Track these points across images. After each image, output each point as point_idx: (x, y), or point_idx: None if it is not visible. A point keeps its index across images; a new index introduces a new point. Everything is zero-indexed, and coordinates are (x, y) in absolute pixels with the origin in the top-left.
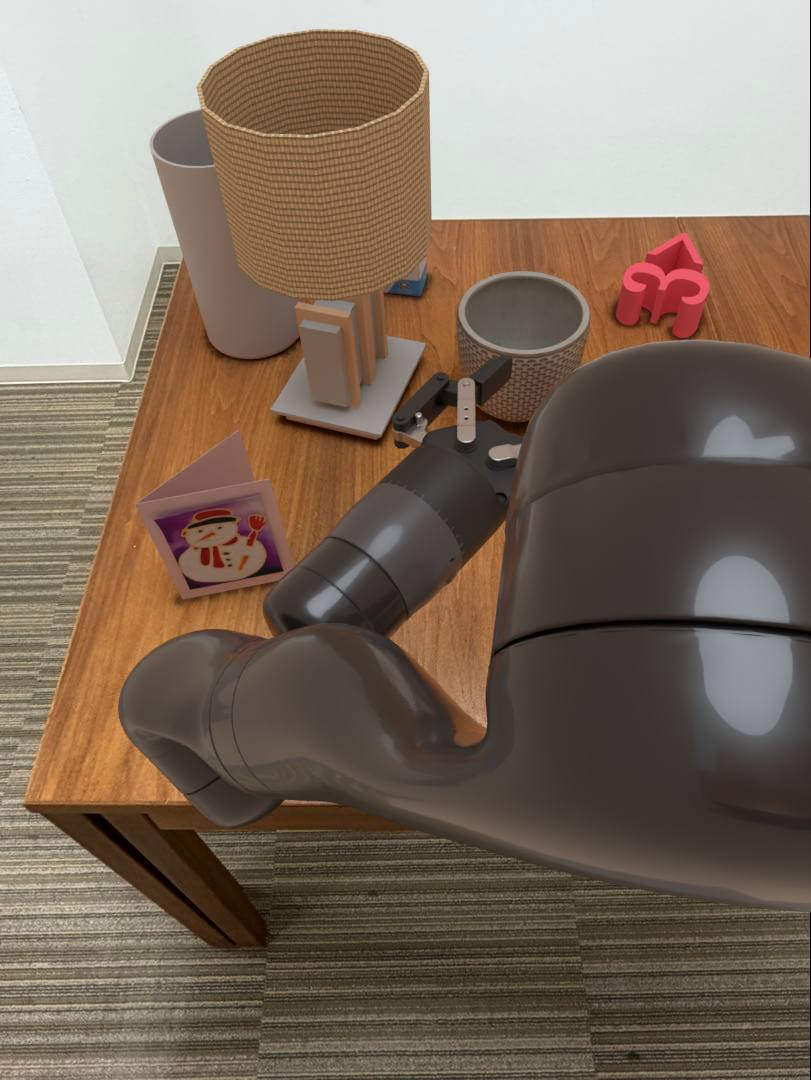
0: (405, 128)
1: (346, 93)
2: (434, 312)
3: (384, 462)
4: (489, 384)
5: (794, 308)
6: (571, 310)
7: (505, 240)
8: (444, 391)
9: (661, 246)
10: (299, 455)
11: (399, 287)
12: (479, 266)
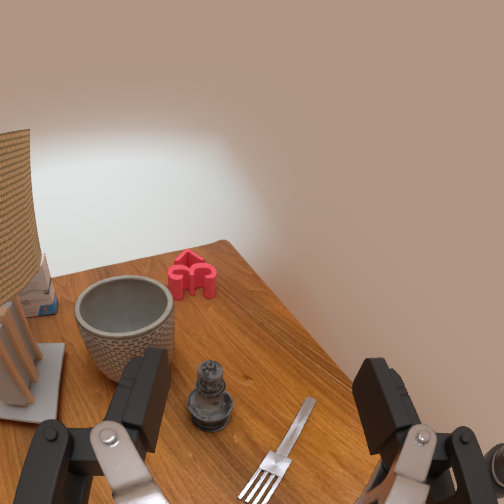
0: (5, 150)
1: None
2: (66, 321)
3: None
4: (152, 414)
5: (250, 271)
6: (153, 294)
7: (95, 274)
8: (72, 461)
9: (179, 256)
10: (11, 446)
11: (43, 310)
12: None
